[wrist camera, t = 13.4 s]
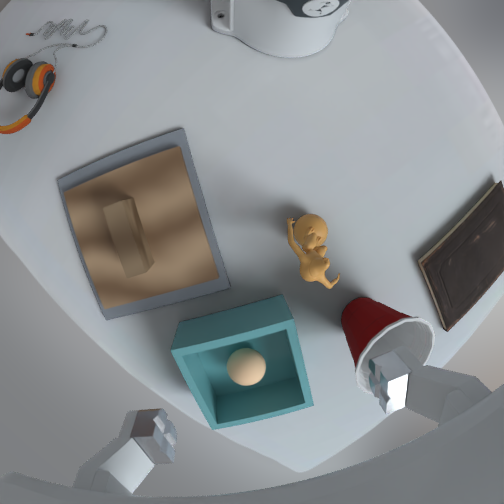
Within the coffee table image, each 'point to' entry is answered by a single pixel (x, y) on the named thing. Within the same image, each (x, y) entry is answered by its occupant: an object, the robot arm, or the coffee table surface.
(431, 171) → the coffee table surface
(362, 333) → the plastic cup
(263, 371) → the ball
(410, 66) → the coffee table surface
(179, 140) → the mat
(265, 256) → the coffee table surface
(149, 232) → the lid
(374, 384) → the robot arm
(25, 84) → the headphones
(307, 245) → the figurine
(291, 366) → the open box
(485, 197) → the hardcover book
